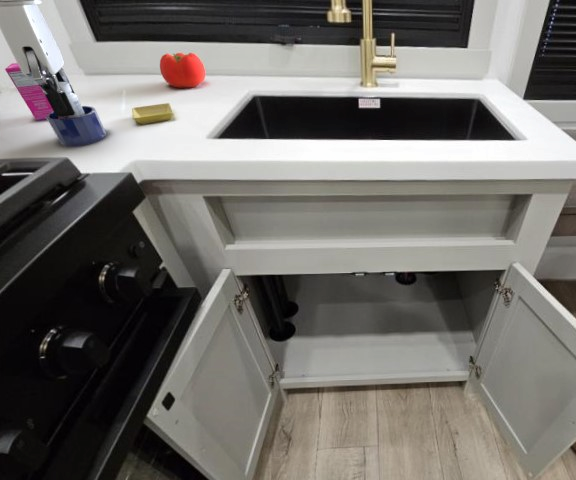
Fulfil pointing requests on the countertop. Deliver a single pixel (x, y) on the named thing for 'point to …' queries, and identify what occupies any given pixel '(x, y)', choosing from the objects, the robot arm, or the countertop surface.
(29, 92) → the supplement box
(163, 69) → the tomato
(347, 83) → the countertop surface
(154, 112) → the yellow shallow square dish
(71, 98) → the pill bottle
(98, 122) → the blue cup
